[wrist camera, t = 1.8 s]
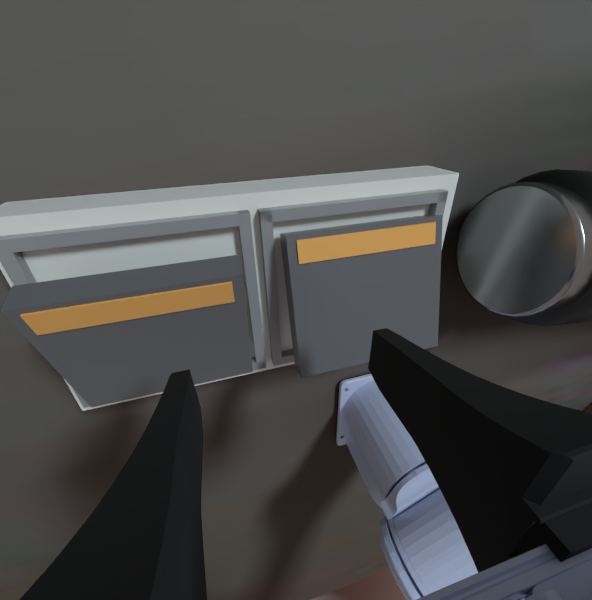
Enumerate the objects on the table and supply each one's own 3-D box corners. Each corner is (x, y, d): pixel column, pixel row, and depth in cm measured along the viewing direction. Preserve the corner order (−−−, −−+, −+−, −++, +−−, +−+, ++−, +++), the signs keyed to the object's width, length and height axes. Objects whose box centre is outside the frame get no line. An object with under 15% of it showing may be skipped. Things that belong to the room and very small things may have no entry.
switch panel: (401, 314, 27) (429, 343, 24) (94, 376, 22) (77, 424, 19) (427, 165, 21) (471, 176, 18) (6, 202, 16) (-43, 227, 12)
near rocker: (248, 353, 20) (253, 373, 19) (95, 385, 18) (91, 409, 17) (237, 254, 15) (242, 275, 14) (12, 285, 13) (-1, 313, 12)
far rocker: (423, 337, 21) (438, 346, 20) (294, 366, 19) (301, 378, 18) (426, 214, 19) (443, 215, 17) (279, 233, 17) (286, 235, 15)
